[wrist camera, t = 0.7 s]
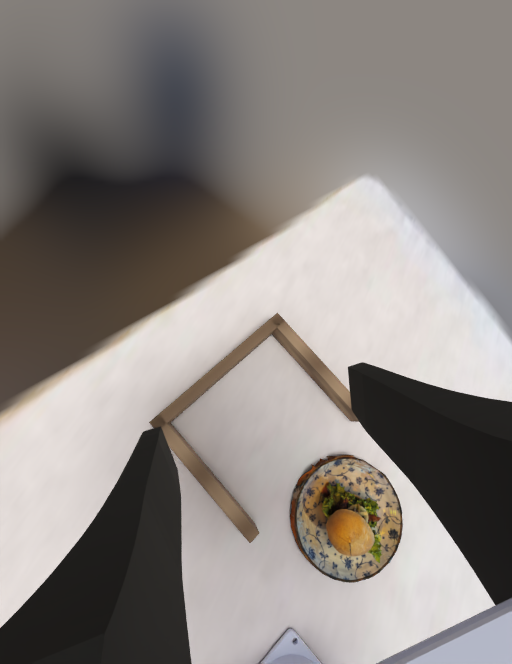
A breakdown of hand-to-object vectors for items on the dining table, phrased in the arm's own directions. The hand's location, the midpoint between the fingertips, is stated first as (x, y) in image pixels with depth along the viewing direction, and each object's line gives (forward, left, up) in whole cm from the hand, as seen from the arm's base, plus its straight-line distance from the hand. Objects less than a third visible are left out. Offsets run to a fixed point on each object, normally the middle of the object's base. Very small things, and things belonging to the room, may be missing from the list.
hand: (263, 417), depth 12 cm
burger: (-16, -3, -26) cm, 30 cm away
